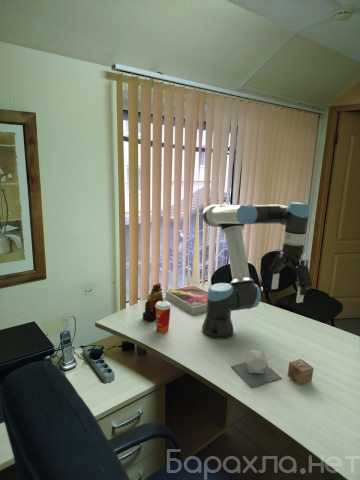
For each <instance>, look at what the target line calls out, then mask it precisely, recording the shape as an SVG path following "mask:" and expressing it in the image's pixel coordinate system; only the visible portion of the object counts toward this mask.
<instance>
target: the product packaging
mask: <svg viewBox="0 0 360 480" xmlns="http://www.w3.org/2000/svg"><path fill="white" fill-rule="evenodd" d="M207 295H208V291H207V290H204V289H203V288H201V287H198V286H196V285H194V284H191V285H187V286H186V285H185V286H183V287H182V286H181V287H178V288H174V289H169V290H168V289H167V290H165V298H166V299H167V300H168V301H169V302H172V303H173V304H175V305H177V306H179V307H180V308H182V309H184V311H187V312H188V313H190V315H191V314H192V315H193V316H195V315H199V314H202V313H207V299H208V298H207Z"/></svg>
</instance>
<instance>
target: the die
mask: <svg viewBox="0 0 360 480" xmlns="http://www.w3.org/2000/svg"><path fill="white" fill-rule="evenodd" d="M244 362H245V363H246V366H247V368H248V371H249V373H256V374H263V373H264V371H265V370H266V368H267V366H269V365H270V364H269V362H268V359H267V358H266V356H265V354H264V351H258V350H249V351H248V353H247V354H246V357H245V358H244Z"/></svg>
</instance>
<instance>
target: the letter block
mask: <svg viewBox="0 0 360 480" xmlns="http://www.w3.org/2000/svg"><path fill="white" fill-rule="evenodd" d="M313 374H314V367H313V366H312V365H310V364H309V363H308V362H306V361H305V360H303V359H302V358H299V359H296V360H292V361H289V362H288V370H287V377H288V378H289V379H291V381H293V382H294V383H295V384H297V385H298V386H299V387H300V386H301V387H302V386H304V385H306V384H309V383H311V382H313V381H312V380H313V376H314V375H313Z"/></svg>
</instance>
